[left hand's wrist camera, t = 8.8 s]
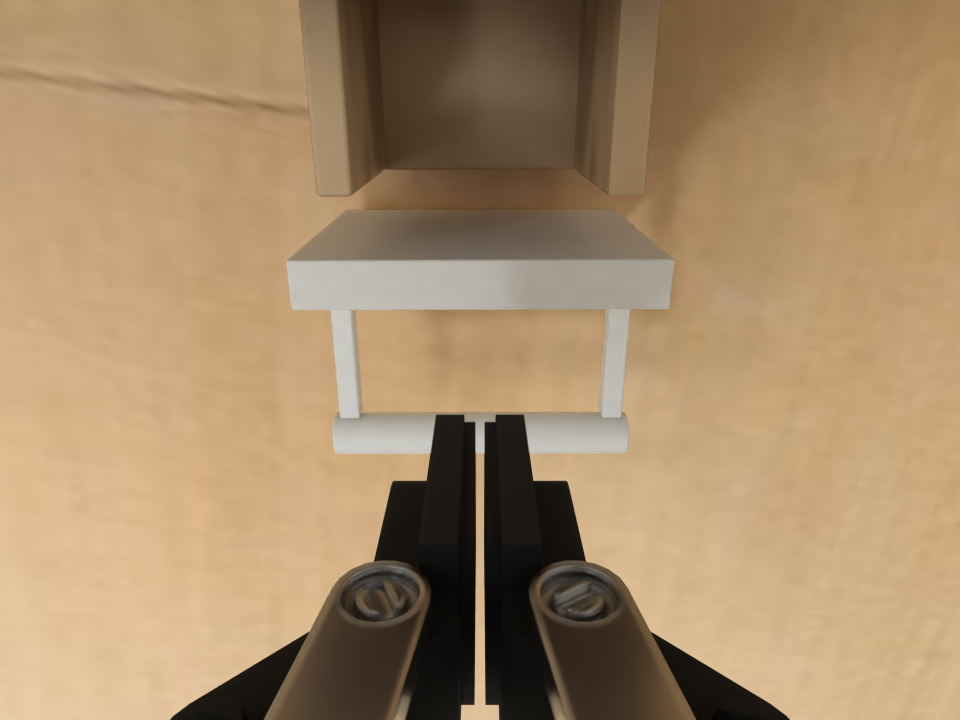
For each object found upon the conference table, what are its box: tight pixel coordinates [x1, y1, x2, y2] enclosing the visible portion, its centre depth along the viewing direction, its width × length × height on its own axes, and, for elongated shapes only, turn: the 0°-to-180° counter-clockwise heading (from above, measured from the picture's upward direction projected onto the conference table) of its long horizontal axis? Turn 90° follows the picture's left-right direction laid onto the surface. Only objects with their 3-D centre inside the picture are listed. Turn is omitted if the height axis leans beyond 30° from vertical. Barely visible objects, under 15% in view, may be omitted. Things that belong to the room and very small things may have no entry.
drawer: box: [286, 0, 674, 454], centre depth 18 cm, size 17×9×7 cm, turn 0°
